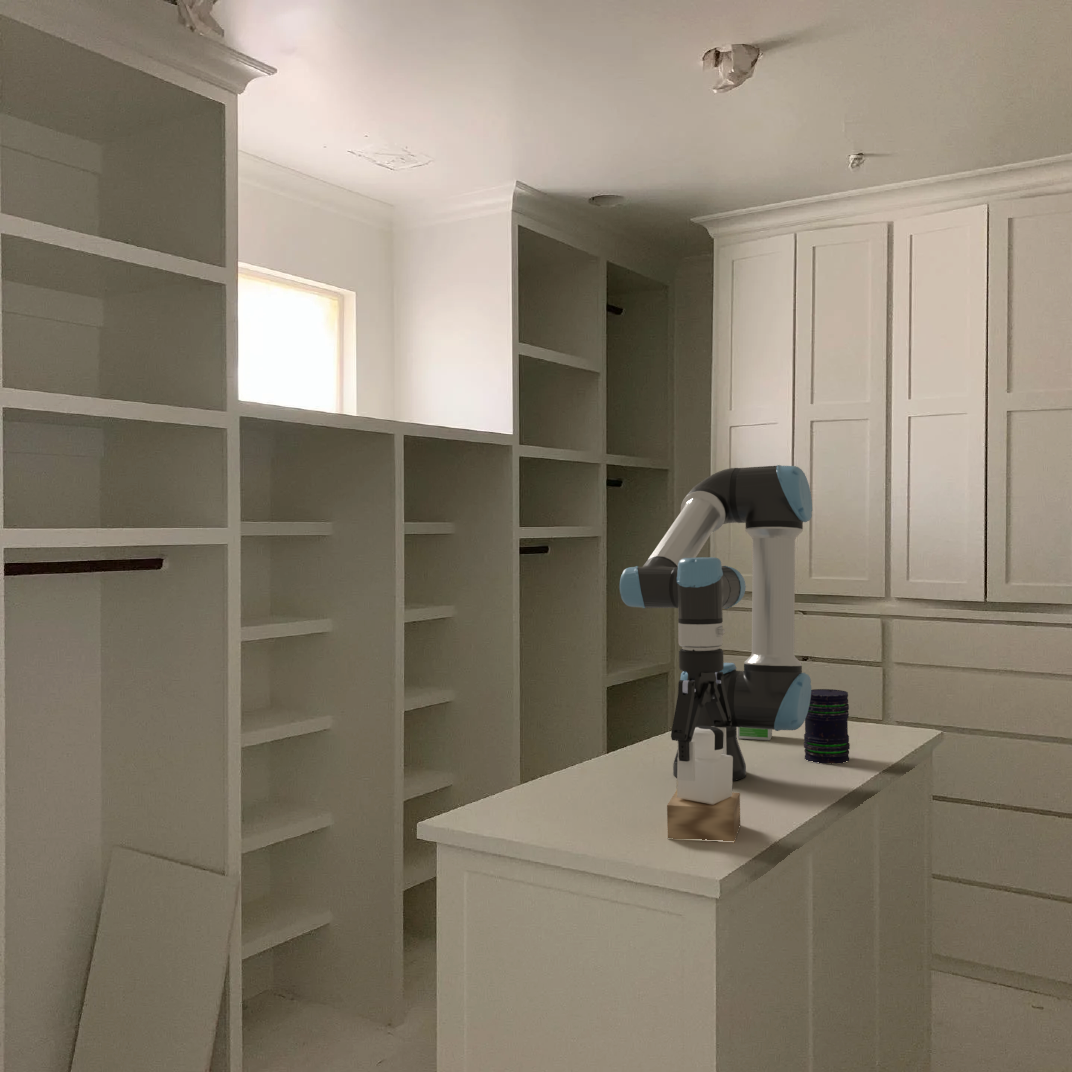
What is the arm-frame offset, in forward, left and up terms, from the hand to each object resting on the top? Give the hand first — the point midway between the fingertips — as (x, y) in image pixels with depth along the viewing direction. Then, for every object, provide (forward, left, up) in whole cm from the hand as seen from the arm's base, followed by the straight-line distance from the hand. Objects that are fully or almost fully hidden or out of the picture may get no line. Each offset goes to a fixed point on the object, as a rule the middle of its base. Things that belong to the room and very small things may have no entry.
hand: (703, 772), depth 183 cm
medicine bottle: (0, 0, -5) cm, 5 cm away
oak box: (0, 0, -11) cm, 11 cm away
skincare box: (-22, +83, -10) cm, 86 cm away
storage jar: (+1, +66, -10) cm, 67 cm away
